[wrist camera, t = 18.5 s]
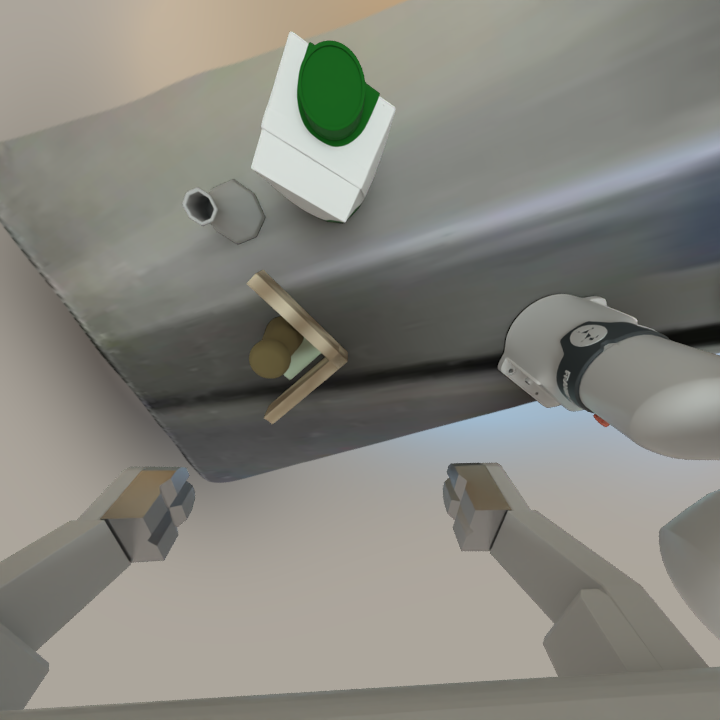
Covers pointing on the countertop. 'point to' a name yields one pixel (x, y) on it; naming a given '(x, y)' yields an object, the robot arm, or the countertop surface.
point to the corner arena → (308, 350)
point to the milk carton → (322, 130)
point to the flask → (226, 210)
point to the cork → (275, 349)
